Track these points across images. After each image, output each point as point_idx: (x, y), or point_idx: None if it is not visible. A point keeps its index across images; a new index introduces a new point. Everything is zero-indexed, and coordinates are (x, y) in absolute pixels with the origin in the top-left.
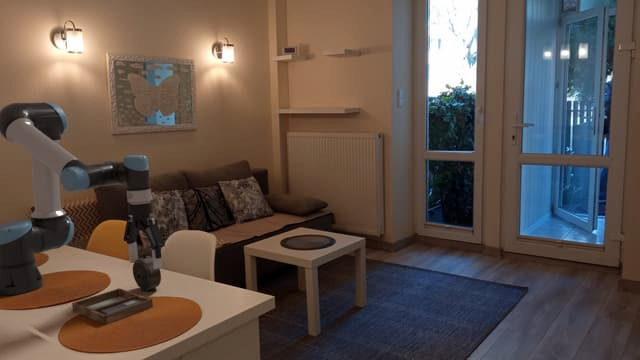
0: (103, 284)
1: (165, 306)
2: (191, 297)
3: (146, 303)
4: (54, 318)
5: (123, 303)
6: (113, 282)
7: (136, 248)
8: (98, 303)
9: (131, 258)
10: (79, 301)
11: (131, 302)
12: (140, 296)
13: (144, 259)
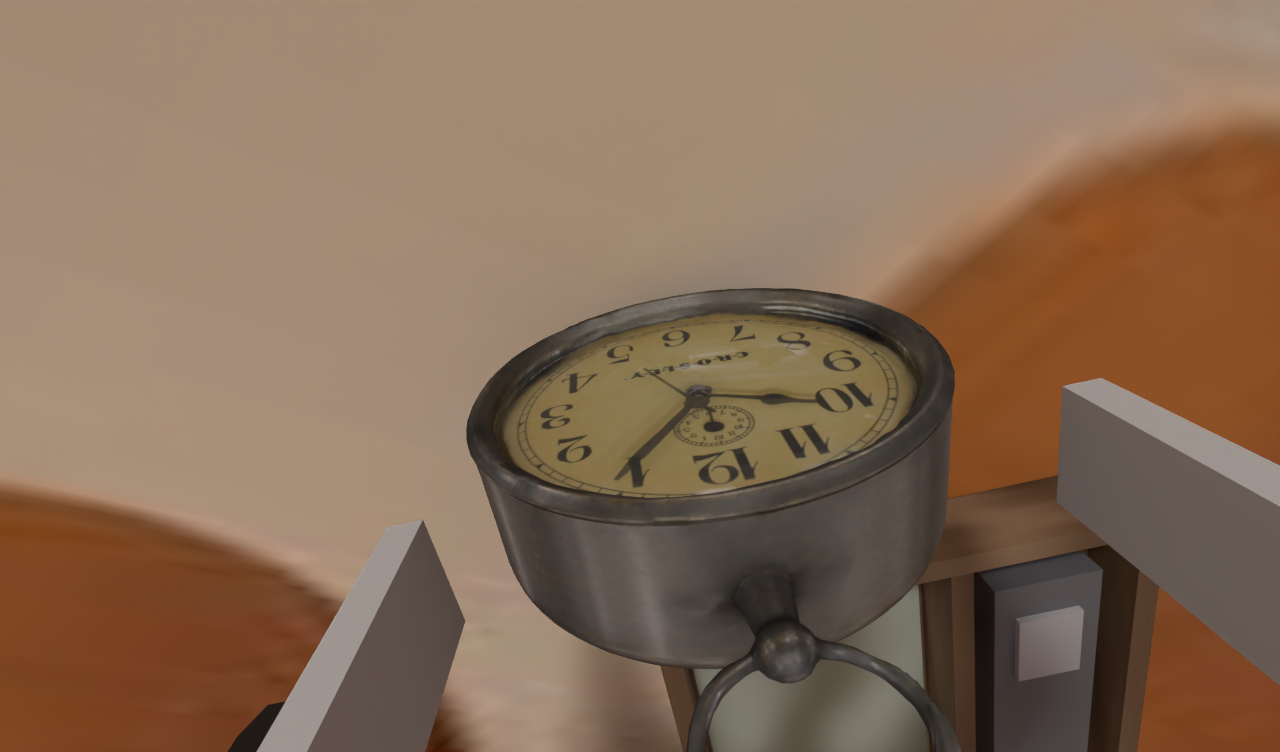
0: (177, 573)
1: (1132, 375)
2: (1176, 96)
3: None
4: None
5: (1021, 678)
6: (162, 498)
7: (329, 736)
8: (719, 720)
9: (440, 672)
10: None
11: (1057, 635)
12: (1011, 557)
13: (832, 613)
